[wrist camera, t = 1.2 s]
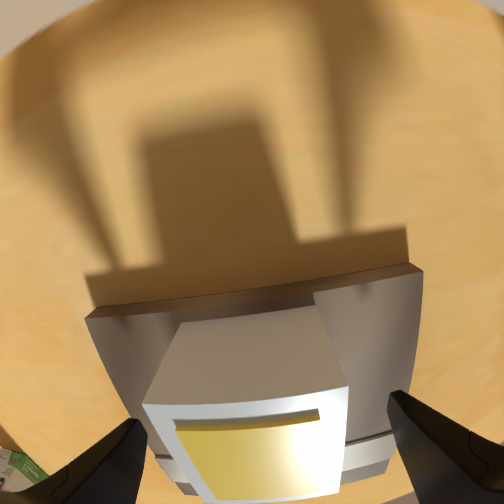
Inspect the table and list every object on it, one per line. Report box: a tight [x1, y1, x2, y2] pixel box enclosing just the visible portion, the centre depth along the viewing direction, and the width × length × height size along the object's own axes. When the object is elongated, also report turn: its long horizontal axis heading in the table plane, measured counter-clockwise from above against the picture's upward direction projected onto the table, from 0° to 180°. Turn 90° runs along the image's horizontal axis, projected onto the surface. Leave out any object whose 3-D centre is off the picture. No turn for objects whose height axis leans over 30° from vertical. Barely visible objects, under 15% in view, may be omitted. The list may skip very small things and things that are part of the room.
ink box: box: [0, 448, 49, 492], centre depth 13 cm, size 8×5×12 cm, turn 112°
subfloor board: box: [84, 262, 423, 496], centre depth 12 cm, size 14×15×1 cm
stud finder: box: [142, 305, 349, 504], centre depth 9 cm, size 5×6×5 cm
